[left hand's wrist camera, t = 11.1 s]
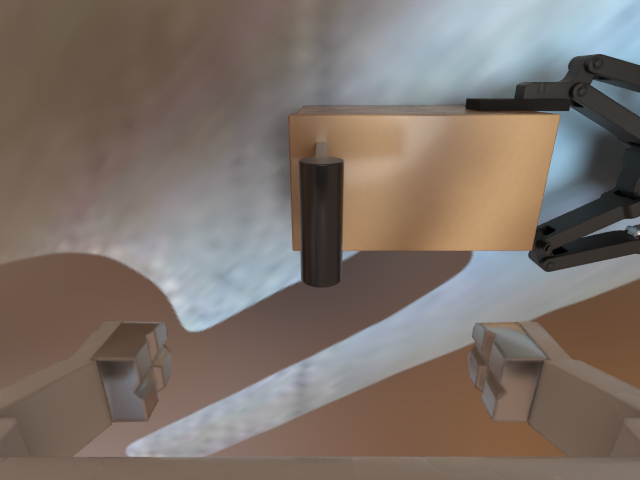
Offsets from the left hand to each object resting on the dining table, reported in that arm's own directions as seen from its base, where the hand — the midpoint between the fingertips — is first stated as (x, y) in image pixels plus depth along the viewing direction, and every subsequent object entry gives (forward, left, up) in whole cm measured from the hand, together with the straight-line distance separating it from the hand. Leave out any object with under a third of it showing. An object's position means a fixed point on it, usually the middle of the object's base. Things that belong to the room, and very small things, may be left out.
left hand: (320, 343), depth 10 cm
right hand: (+11, +3, -22) cm, 25 cm away
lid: (+6, +2, -18) cm, 19 cm away
